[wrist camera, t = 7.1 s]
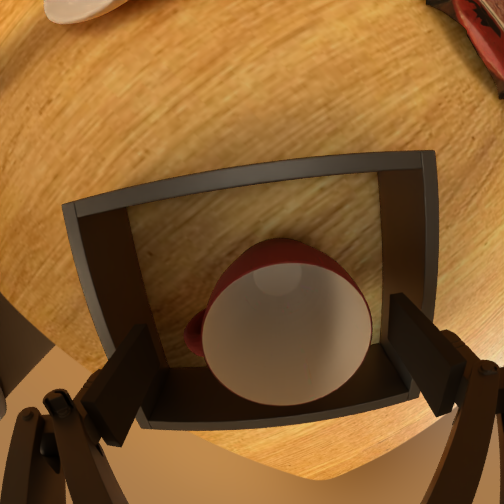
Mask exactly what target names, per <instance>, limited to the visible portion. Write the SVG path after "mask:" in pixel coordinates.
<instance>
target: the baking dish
mask: <svg viewBox="0 0 504 504" xmlns="http://www.w3.org/2000/svg"><path fill="white" fill-rule="evenodd" d="M426 5H431V6H433V7H435V8H437V9H439V10H442V11H443V12H445V13H446V14H447V15H449V16H450V17H452V18H453V19H454V20H456V21H457V22H458V23H460V24H461V25H462V26H463V27H465V29H466V30H467V36H468V37H469V39H470V41H471V43H472V45H473V46H474V48H475V50H476V52H477V54H478V55H479V57H480V58H481V59H482V60H483V62H484V63H485V65H486V67H487V69H488V70H489V72H490V74H491V76H492V78H493V80H494V81H495V83H496V85H497V90H498V95H499V99H504V0H426Z"/></svg>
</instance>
